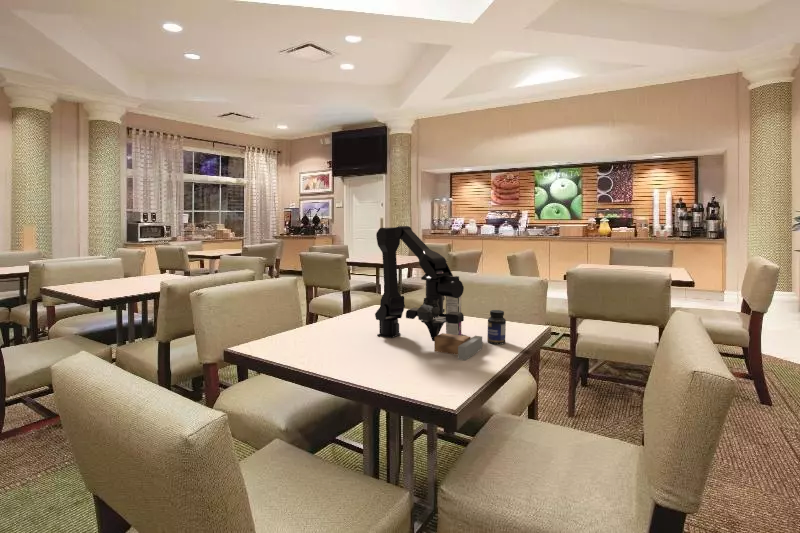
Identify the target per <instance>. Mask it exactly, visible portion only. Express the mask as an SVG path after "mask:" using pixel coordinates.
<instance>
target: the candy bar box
mask: <svg viewBox="0 0 800 533" xmlns="http://www.w3.org/2000/svg"><path fill="white" fill-rule="evenodd" d="M452 311H453V312H462V296H461V297H459V298H452V297H446V296H445V314H448V313H450V312H452ZM445 334H453V335H461V336H462V334H463V333H462V322H460V323H458V324H452V323H448V322H445Z"/></svg>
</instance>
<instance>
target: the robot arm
mask: <svg viewBox="0 0 800 533" xmlns="http://www.w3.org/2000/svg"><path fill="white" fill-rule="evenodd" d="M375 236H376V243H377V247H378V248H379V249H380V251H381V253H382V255H381V256H382V269H383V271H382V272H383V289H384V292H383V294H382V296H381V298H380V305H379V306H380V307H378V309H377V310H376V312H375V313H374V317H375V320H376V321H378V322H379V326H378V328H379V333H378V334H377V337H381V338H382V337H383V338H391V339H393V338H395V337H397V336H399V335H401V332H400V323H399V319H402V317H403V313H404V311H405V307H406V305H405V296H404V295H401V293H400V292H399V286H398V284H399V281H398V264H397V263H398V262H397V251H398V249H399V247H400V244H401V241H402V242H403V244H405V245H406V246H407V248H408V249H409V250H410V251H411V252H412V253H413V254H414V256H415V257H416V258H417V259H418V263H419V266H420V268H421V269H422V271H423V273H424V275H422V276H421V277H420V280H421V281H425V297H423V304H421V305H420V307H411V308H409V309H407V310H406V312H405V318H406V319H409V320H415V319H416V317H417V318H418V321H421V323H423V324H424V325H425V326H426V327H427V329H428V332H429V336H430V338H431V341H432V342H434V337H436V336H438V335H440V332H441V330H442V327H443V326H444V324H446V322H448V323H452V324H458V323H460V322H461V323H462V322H463V321H464V319H465V318H464V316H465V315H464V314H463V312H462V311H461V312H453V311H452V312H450V313H448V314H446V308H444V301H446V297H452V298H459V297H461V298H462V296H463V294H464V290H465V288H464V284H463V282H462V281H461V280H460V276H457V275H453V272H452V271H451V269H450V267H449V264H448V262H447V260H446V258H445V257H444V256H443V255H441V254H440V253H439V252H436V251H434V250H433V249H431V248H429V246H427V245H426V243H425V242H424V241H423V240H422V239H421V238H420V237H419V236H418V235H417V234H416V233H415V232H414V231H413V230H412V227H411V226H409V225H399V226H396V227H392V226H391V227H379V229H378V230H377V231H376V235H375Z"/></svg>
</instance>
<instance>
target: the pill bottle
mask: <svg viewBox="0 0 800 533" xmlns="http://www.w3.org/2000/svg"><path fill="white" fill-rule="evenodd" d="M489 315H490V317H488V319H487V343H488V344H492V345H504V344H505V343H506V331H507V328H506V325H507V323H506V322H507V320H506V318H505V317H504V315H505V312H504V310H500V309H492V310H489Z"/></svg>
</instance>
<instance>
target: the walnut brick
mask: <svg viewBox="0 0 800 533" xmlns="http://www.w3.org/2000/svg"><path fill="white" fill-rule="evenodd" d="M469 339H471V336H467V335H462V334H461V335H453V334H446V332H445V333H444V332H441V333H439V335H438V336H436V337H434V341H433V342H434V352H437V353H442V354H443V353H444V354H448V355H449V354H450V355H456V356H458V346H459V345H461V344H463V343H464V342H466V341H468V340H469Z"/></svg>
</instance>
